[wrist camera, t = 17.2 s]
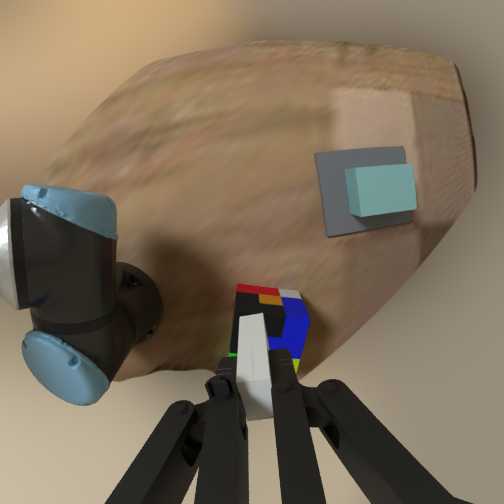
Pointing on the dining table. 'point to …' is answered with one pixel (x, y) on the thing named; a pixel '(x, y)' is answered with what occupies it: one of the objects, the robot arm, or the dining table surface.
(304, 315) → the puzzle toy
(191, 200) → the dining table surface
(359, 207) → the teal block
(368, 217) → the rubber mat
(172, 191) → the dining table surface
